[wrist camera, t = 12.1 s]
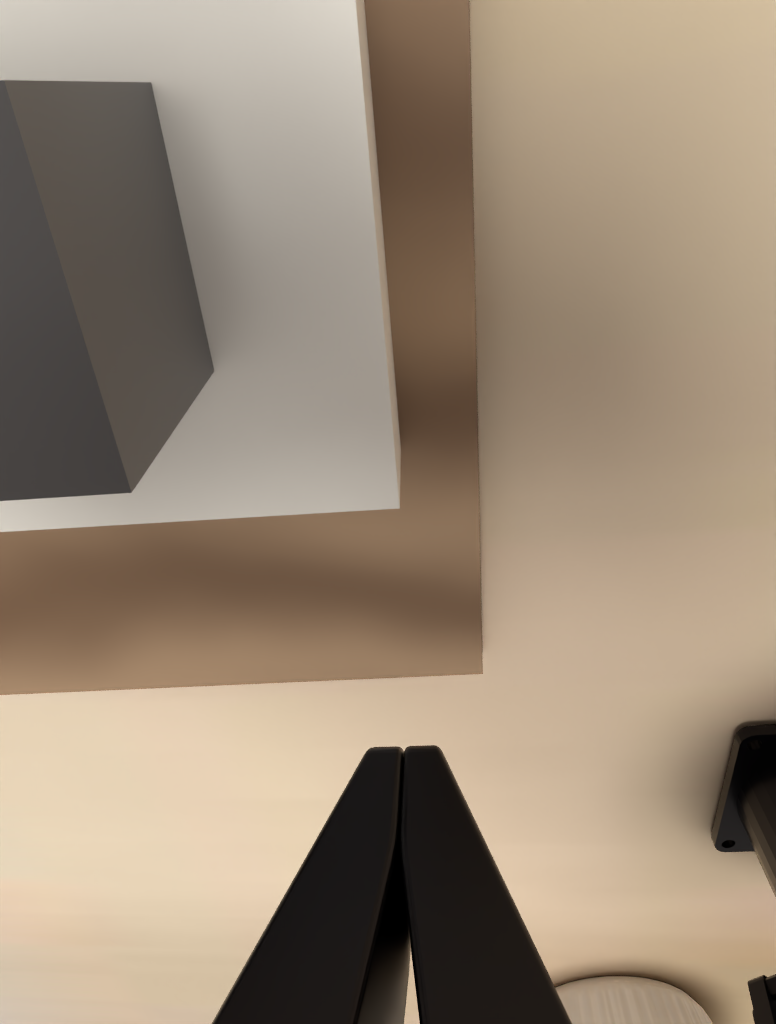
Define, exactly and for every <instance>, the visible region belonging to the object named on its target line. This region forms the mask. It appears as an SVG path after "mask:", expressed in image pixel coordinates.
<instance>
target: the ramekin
mask: <svg viewBox="0 0 776 1024" xmlns="http://www.w3.org/2000/svg"><path fill="white" fill-rule="evenodd" d="M555 989H556V991H557V993H558V995H559V997H560V999H561V1001H562V1003H563V1006H564V1008H565V1010H566V1012H567V1014H568V1016H569V1018H570V1020H571V1022H572V1024H713V1023H712V1021H711V1019H710V1018H709V1016H708V1015H707V1014H706V1012H705V1011H704V1009H703V1008H702V1007H701V1006H700V1005H699V1004H697V1003H696V1002H695V1001H694V1000H693V999H692V998H691V997H690V996H689V995H687V994H686V993H685V992H683V991H682V990H680V989H678V988H676V987H674V986H672V985H669V984H667V983H664V982H660V981H657V980H652V979H648V978H642V977H630V976H604V977H594V978H588V979H582V980H578V981H573V982H569V983H566V984H563V985H560V986H558V987H555Z"/></svg>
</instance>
